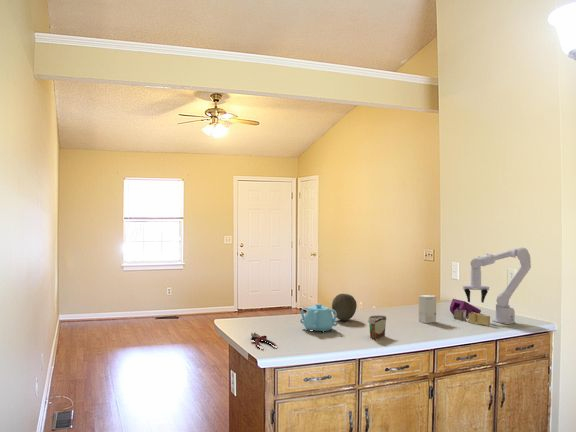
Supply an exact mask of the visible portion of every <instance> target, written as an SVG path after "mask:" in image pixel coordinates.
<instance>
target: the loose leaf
mask: <svg viewBox="0 0 576 432" xmlns="http://www.w3.org/2000/svg"><path fill="white" fill-rule="evenodd" d="M467 318H468V320H467V321H468V323H470V324H473V325H474V324H477V325H478V324H479V325H482V326H487V327H488V326H491V316H490V315H485V314H481V312H480V313H475V312H471V313H468V317H467Z"/></svg>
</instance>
